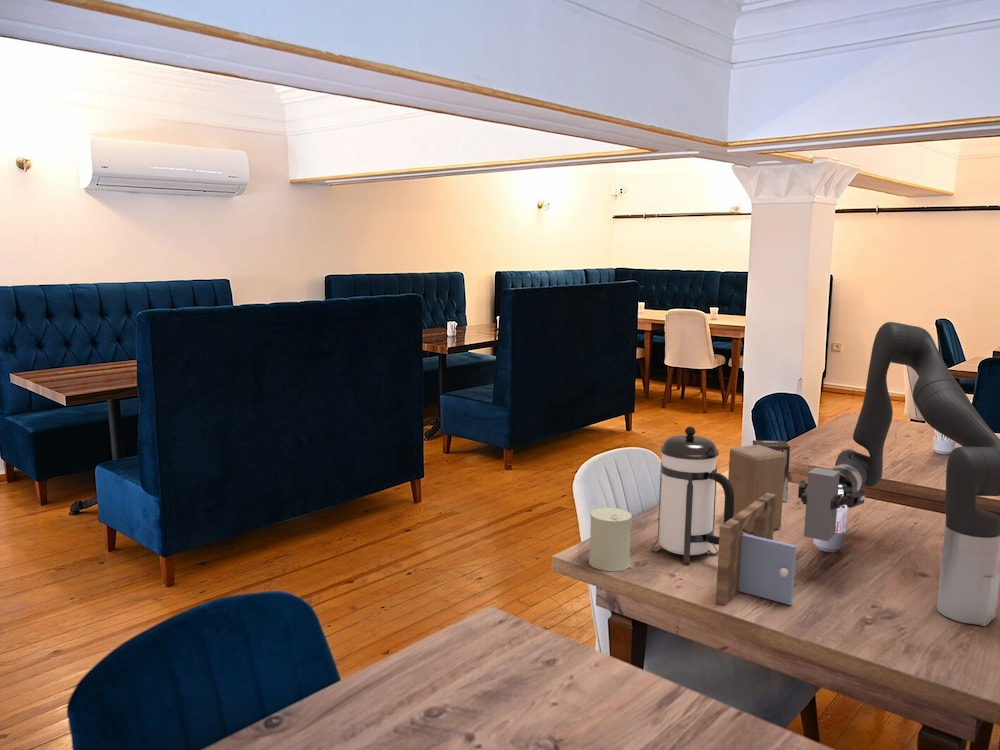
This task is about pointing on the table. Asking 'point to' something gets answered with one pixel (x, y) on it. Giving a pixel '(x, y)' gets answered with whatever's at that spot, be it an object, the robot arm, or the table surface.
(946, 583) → the robot arm
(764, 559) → the door
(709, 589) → the table surface
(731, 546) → the door frame
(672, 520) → the coffee press
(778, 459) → the wooden block
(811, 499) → the grey rectangular block
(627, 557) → the can
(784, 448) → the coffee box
